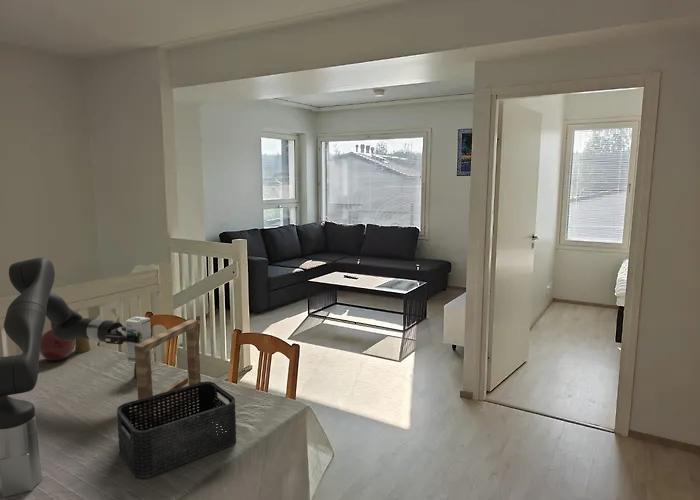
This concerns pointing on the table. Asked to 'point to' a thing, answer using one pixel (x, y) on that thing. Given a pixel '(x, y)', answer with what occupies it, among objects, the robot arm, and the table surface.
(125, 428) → the storage bin
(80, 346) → the cork
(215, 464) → the table surface
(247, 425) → the table surface
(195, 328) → the wooden frame stand
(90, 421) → the table surface
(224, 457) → the table surface
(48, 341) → the round-bottom flask
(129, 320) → the syrup box
